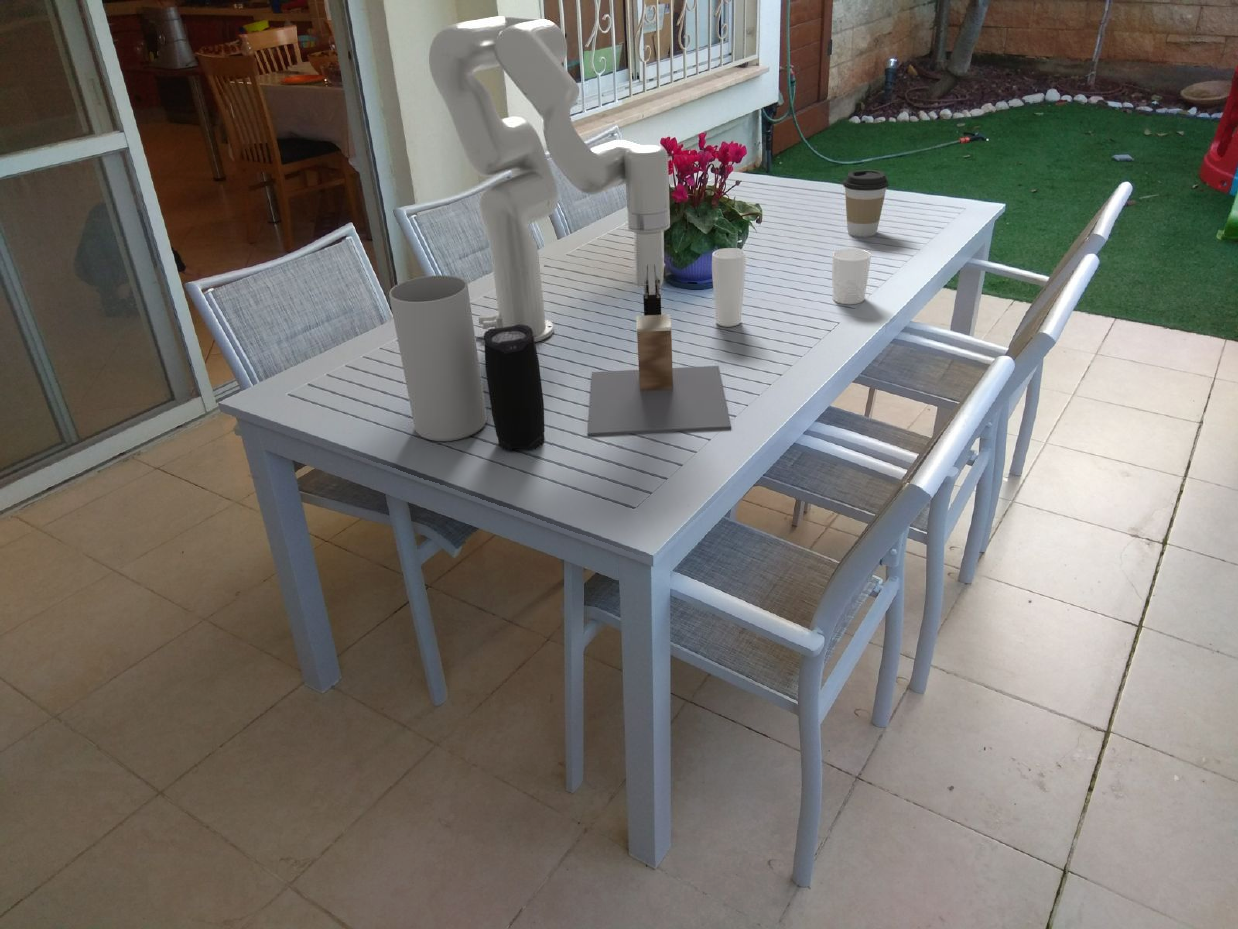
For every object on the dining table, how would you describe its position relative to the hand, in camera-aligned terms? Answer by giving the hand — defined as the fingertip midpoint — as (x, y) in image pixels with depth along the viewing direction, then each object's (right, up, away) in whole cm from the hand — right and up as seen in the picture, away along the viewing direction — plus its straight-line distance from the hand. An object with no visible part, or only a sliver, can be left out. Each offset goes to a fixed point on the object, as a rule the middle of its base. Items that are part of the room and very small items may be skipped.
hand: (652, 315), depth 175 cm
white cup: (+44, +8, +28) cm, 52 cm away
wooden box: (0, -13, -4) cm, 13 cm away
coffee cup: (+57, +32, +67) cm, 93 cm away
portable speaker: (-23, -24, -19) cm, 38 cm away
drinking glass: (+17, +2, +20) cm, 26 cm away
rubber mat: (0, -16, -9) cm, 19 cm away
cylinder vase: (-35, -21, -13) cm, 43 cm away
